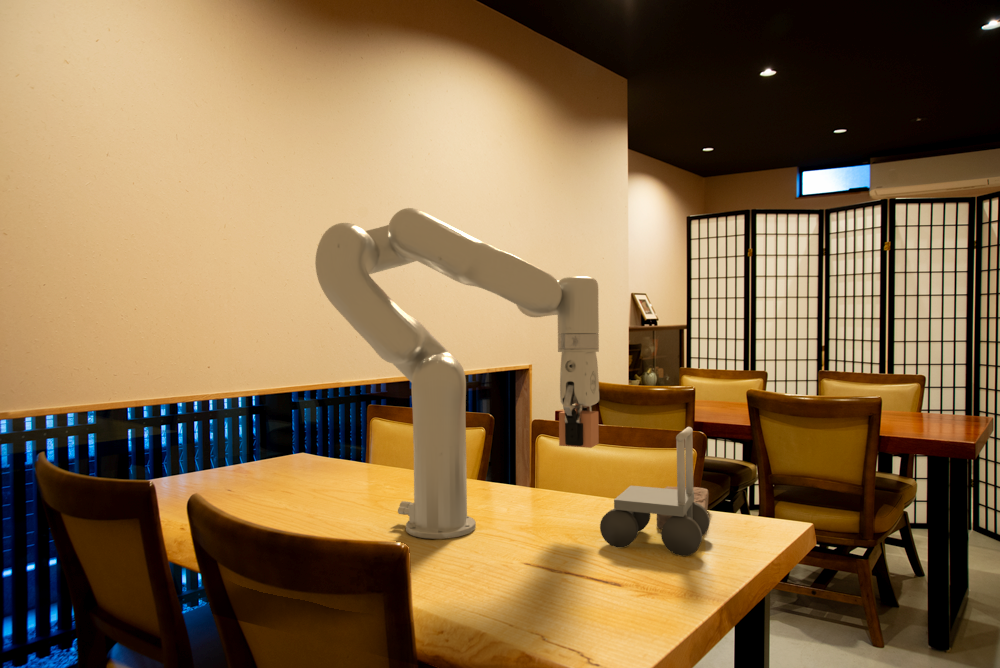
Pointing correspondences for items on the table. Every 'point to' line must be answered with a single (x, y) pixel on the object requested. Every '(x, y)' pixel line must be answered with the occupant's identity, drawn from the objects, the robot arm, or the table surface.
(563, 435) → the block
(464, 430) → the robot arm
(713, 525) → the table surface
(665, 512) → the trolley
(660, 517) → the brick
